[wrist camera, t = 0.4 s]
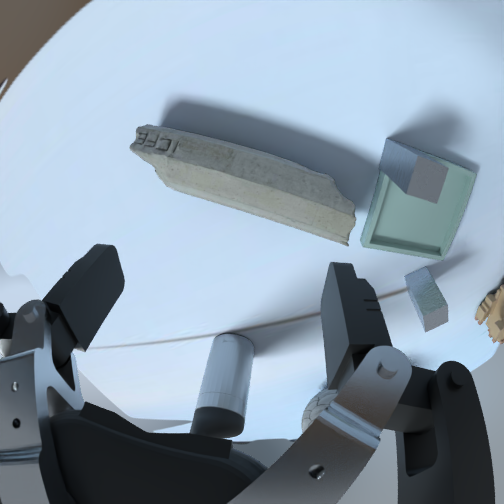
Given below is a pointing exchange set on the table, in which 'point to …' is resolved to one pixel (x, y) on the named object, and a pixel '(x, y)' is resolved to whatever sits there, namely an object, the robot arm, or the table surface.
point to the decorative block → (247, 181)
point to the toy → (493, 314)
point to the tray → (417, 216)
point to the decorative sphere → (317, 406)
